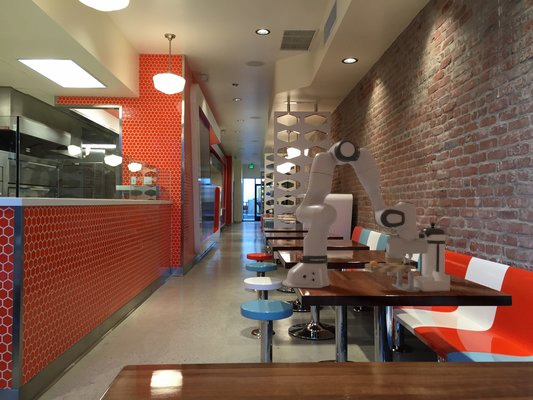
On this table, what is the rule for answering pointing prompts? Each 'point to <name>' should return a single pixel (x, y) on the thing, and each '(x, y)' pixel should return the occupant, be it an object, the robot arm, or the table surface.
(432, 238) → the coffee press
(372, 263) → the ball
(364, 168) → the robot arm
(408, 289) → the lever stand
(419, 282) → the dish
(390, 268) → the lever ramp
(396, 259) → the coffee cup
